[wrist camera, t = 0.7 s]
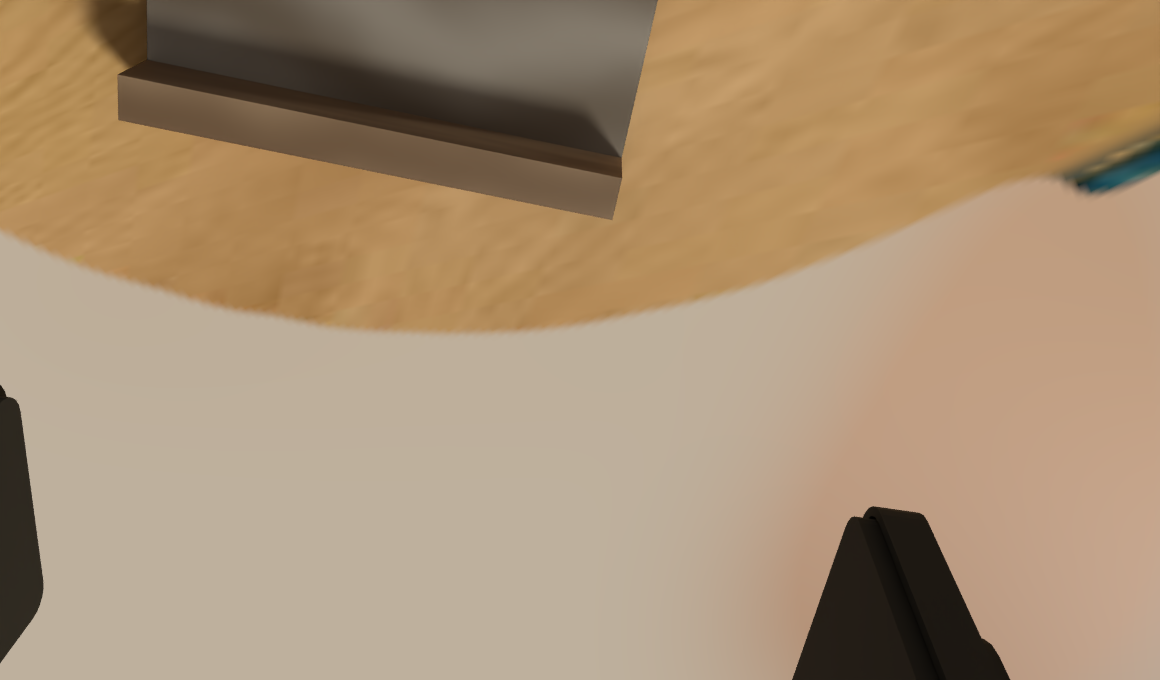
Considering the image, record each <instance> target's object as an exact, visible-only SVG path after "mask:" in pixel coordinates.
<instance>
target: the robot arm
mask: <svg viewBox="0 0 1160 680" xmlns="http://www.w3.org/2000/svg"><path fill="white" fill-rule="evenodd" d="M42 594H43V576H42V568H41V561H40V553H39V546H38V539H37V531H36V524H35V516H34V509H33V501H32V494H31V486H30V479H29V472H28V464H27V457H26V449H25V442H24V434H23V427H22V420H21V412H20V408H19V404H18V403H17V401H16V400H15V399H13V398H10V397H6V394H5V391H4V389H3V388H2V386H1V385H0V663H1V661H2V660H3V659H4V657H5V656H6V654H7V653H8V652H9V650H10V649H11V648H12V646H13V645H14V644H15V642H16V641H17V639H18V638H19V637H20V635H21V634H22V633H23V631H24V630H25V629H26V627H27V626H28V624H29V623H30V622H31V620H32V619H33V617H34V616H35V614H36V612H37V610H38V608H39V605H40V602H41V599H42ZM792 680H1010V679H1009V676H1008V674H1007V672H1006V670H1005V668H1004V666H1003V664H1002V661H1001V659H1000V657H999V655H998V654H997V652H996V651H995V649H994V648H993V646H992V645H991V644H990V643H988V642H987V641H986V640H984V639H982V638H981V636H980V635H979V632H978V630H977V628H976V625H975V623H974V621H973V619H972V617H971V615H970V612H969V610H968V608H967V606H966V604H965V602H964V599H963V598H962V595H961V593H960V591H959V589H958V587H957V584H956V582H955V580H954V578H953V576H952V574H951V571H950V569H949V567H948V565H947V563H946V561H945V558H944V556H943V554H942V552H941V550H940V547H939V545H938V543H937V541H936V539H935V537H934V534H933V532H932V530H931V528H930V526H929V523H928V521H927V520H926V518H925V517H924V515H922V514H920V513H916V512H909V511H902V510H895V509H888V508H881V507H874V506H873V507H870V508H869V509H868V510H867V511H866V513H865V514H864V516H863V518H861V517H851V518H850V520H849V521H848V523H847V525H846V527H845V530H844V533H843V536H842V539H841V542H840V545H839V548H838V550H837V553H836V556H835V559H834V562H833V565H832V568H831V570H830V573H829V576H828V579H827V582H826V585H825V587H824V590H823V593H822V596H821V599H820V602H819V605H818V607H817V610H816V614H815V616H814V619H813V622H812V625H811V627H810V630H809V633H808V636H807V639H806V642H805V645H804V647H803V651H802V653H801V656H800V659H799V662H798V665H797V667H796V671H795V673H794V676H793V679H792Z"/></svg>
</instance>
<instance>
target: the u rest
mask: <svg viewBox="0 0 1160 680" xmlns="http://www.w3.org/2000/svg"><path fill="white" fill-rule="evenodd" d="M657 1H658V0H147V60H146V61H144V62H142V63H140V64H138V65H136V66H134V67H132V68H130V69H128V70H126V71H124V72H122V73H120V74H118V120H121V121H126V122H131V123H135V124H140V125H145V126H150V127H155V128H160V129H165V130H170V131H175V132H180V133H185V134H190V135H195V136H200V137H205V138H210V139H214V140H219V141H224V142H229V143H234V144H239V145H244V146H249V147H254V148H259V149H264V150H269V151H274V152H279V153H284V154H289V155H293V156H298V157H303V158H308V159H313V160H318V161H323V162H328V163H333V164H338V165H343V166H348V167H353V168H358V169H363V170H367V171H372V172H377V173H382V174H387V175H392V176H397V177H402V178H407V179H412V180H417V181H422V182H427V183H432V184H437V185H442V186H446V187H451V188H456V189H461V190H466V191H471V192H476V193H481V194H486V195H491V196H496V197H501V198H506V199H511V200H516V201H521V202H525V203H530V204H535V205H540V206H545V207H550V208H555V209H560V210H565V211H570V212H575V213H580V214H585V215H590V216H595V217H600V218H604V219H609V220H612V219H613V215H614V210H615V206H616V202H617V198H618V193H619V189H620V185H621V180H622V153H623V149H624V145H625V140H626V136H627V132H628V127H629V123H630V119H631V114H632V110H633V106H634V101H635V97H636V92H637V88H638V84H639V79H640V75H641V71H642V66H643V62H644V58H645V53H646V49H647V45H648V40H649V36H650V32H651V27H652V23H653V19H654V14H655V10H656V5H657Z"/></svg>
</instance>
